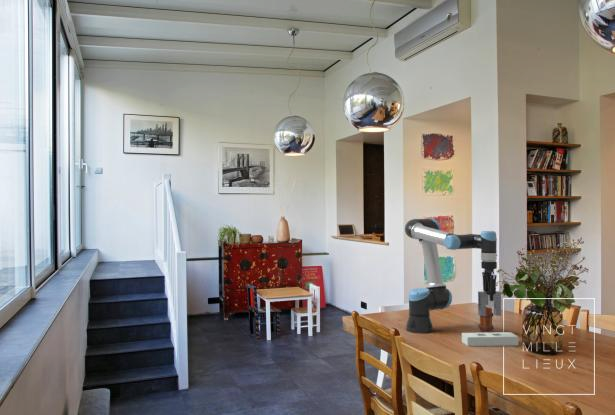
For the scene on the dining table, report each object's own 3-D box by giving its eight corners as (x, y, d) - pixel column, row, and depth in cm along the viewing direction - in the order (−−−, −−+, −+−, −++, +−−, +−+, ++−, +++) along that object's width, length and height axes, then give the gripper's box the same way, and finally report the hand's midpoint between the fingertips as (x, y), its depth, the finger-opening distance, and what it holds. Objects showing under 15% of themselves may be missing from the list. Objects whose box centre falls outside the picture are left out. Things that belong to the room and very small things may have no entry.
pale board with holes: (467, 346, 252) (467, 337, 252) (461, 341, 261) (461, 332, 261) (518, 345, 253) (518, 336, 253) (510, 340, 262) (510, 332, 262)
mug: (495, 335, 273) (495, 308, 273) (479, 334, 275) (479, 307, 275) (490, 329, 288) (490, 303, 288) (476, 328, 289) (475, 302, 289)
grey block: (480, 315, 255) (480, 292, 255) (478, 314, 259) (478, 291, 259) (501, 315, 256) (500, 292, 256) (498, 314, 259) (498, 291, 259)
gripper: (502, 262, 249) (503, 309, 249) (490, 259, 265) (490, 303, 265) (487, 262, 249) (488, 309, 249) (476, 259, 265) (476, 303, 265)
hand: (489, 306), depth 257 cm, fingers closed on grey block, 3 cm apart
